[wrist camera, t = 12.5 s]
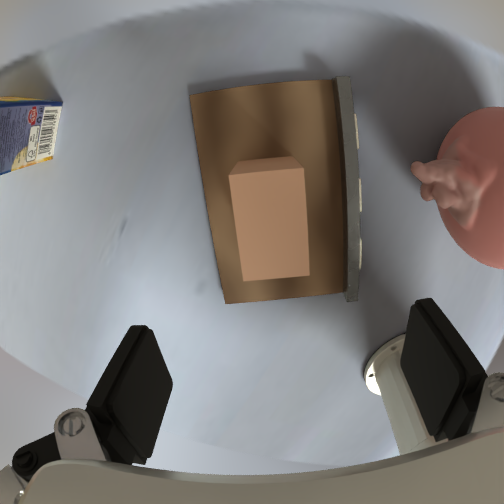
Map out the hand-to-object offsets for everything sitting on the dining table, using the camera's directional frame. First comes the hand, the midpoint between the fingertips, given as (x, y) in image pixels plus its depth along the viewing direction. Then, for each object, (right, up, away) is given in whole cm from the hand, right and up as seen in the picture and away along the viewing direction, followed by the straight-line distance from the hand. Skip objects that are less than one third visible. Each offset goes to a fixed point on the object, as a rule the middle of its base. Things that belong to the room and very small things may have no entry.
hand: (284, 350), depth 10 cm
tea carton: (+1, +8, +18) cm, 20 cm away
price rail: (+8, +10, +19) cm, 23 cm away
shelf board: (+1, +9, +20) cm, 22 cm away
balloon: (+21, +13, +17) cm, 30 cm away
